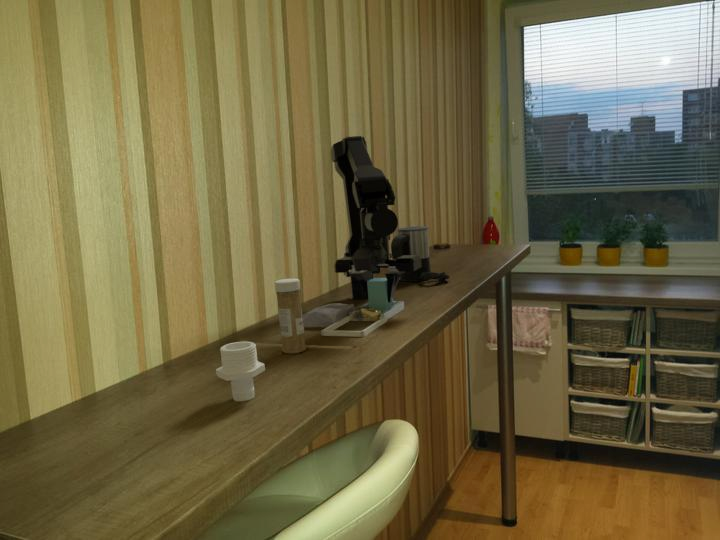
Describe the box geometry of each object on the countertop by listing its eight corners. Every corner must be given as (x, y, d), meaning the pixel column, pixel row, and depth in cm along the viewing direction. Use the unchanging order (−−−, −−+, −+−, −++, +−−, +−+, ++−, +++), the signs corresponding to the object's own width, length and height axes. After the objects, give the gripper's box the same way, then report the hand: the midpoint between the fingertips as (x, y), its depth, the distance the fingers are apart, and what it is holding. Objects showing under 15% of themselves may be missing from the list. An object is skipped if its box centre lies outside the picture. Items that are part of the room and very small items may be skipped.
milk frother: (405, 276, 193) (402, 226, 191) (458, 275, 187) (455, 223, 185) (390, 285, 180) (385, 232, 178) (445, 285, 174) (442, 229, 172)
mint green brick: (369, 312, 145) (367, 281, 144) (376, 308, 149) (374, 277, 148) (386, 312, 143) (384, 281, 142) (393, 308, 147) (391, 277, 146)
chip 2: (370, 317, 141) (369, 309, 141) (383, 317, 140) (382, 309, 140) (365, 320, 138) (364, 312, 138) (378, 320, 137) (377, 312, 137)
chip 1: (364, 314, 144) (363, 306, 144) (377, 315, 143) (376, 306, 143) (359, 318, 141) (358, 309, 141) (371, 318, 140) (371, 310, 140)
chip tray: (347, 322, 140) (347, 316, 140) (387, 323, 137) (386, 316, 136) (321, 337, 129) (320, 330, 129) (363, 339, 125) (363, 331, 125)
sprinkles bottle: (310, 350, 120) (303, 279, 118) (287, 356, 118) (279, 283, 116) (300, 346, 124) (293, 276, 122) (278, 350, 122) (270, 280, 120)
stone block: (297, 338, 138) (338, 329, 134) (291, 316, 138) (332, 307, 134) (321, 326, 149) (360, 318, 145) (315, 306, 149) (354, 297, 145)
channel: (371, 309, 151) (370, 301, 150) (404, 310, 147) (403, 301, 147) (349, 322, 140) (348, 313, 140) (384, 323, 137) (383, 313, 136)
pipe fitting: (234, 409, 93) (228, 355, 92) (214, 397, 99) (208, 346, 98) (274, 397, 97) (268, 345, 95) (252, 386, 102) (246, 337, 101)
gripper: (320, 238, 140) (326, 310, 142) (402, 235, 132) (407, 311, 134) (342, 232, 150) (348, 299, 152) (419, 229, 142) (424, 299, 144)
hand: (380, 302), depth 145 cm, fingers closed on mint green brick, 4 cm apart
